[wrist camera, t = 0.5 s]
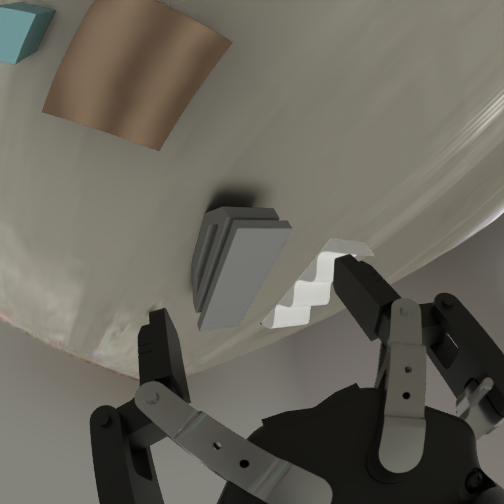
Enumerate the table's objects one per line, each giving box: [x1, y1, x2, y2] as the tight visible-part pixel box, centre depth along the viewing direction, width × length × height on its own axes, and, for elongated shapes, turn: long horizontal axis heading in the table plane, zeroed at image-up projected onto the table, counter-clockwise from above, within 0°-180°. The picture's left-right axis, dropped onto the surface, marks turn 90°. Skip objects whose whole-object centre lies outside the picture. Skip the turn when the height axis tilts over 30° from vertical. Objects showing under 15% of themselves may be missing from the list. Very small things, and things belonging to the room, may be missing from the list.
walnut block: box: [42, 0, 233, 151], centre depth 24 cm, size 14×14×6 cm
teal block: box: [0, 3, 55, 65], centre depth 15 cm, size 5×5×7 cm
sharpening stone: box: [192, 207, 292, 331], centre depth 49 cm, size 25×8×11 cm, turn 161°
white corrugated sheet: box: [260, 238, 375, 328], centre depth 77 cm, size 13×35×5 cm, turn 153°
